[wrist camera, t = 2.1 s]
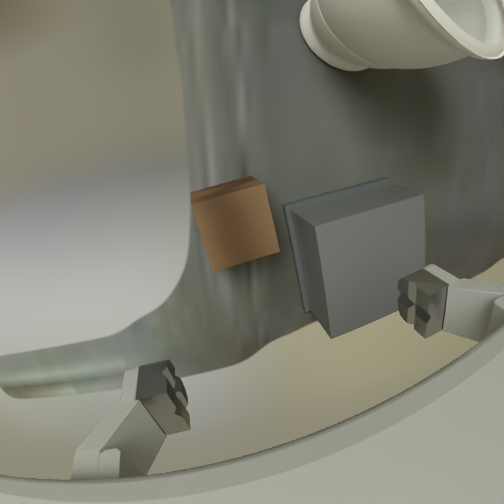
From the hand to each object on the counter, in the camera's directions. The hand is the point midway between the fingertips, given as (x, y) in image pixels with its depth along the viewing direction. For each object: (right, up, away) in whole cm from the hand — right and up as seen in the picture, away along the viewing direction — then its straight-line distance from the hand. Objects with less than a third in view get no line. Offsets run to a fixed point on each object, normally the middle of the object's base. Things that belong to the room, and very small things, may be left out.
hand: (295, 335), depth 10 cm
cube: (-3, +6, +16) cm, 17 cm away
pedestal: (+8, +3, +19) cm, 21 cm away
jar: (+7, +23, +12) cm, 26 cm away
